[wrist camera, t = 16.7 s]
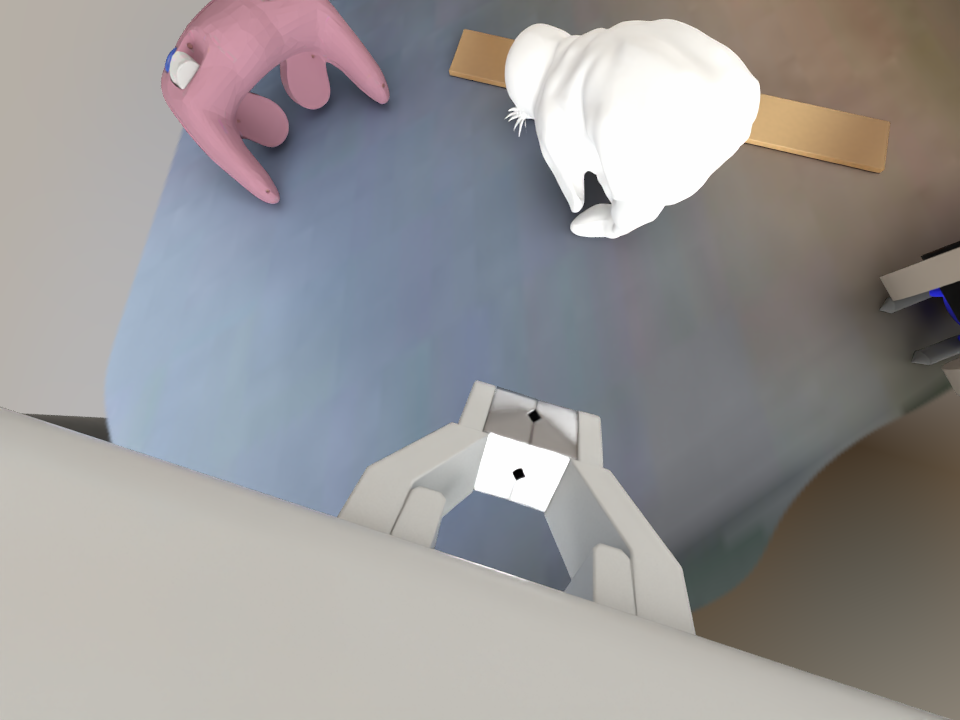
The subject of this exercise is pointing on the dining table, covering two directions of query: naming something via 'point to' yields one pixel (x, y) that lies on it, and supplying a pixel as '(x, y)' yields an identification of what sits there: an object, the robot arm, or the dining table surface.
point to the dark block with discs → (940, 274)
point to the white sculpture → (630, 113)
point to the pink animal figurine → (259, 76)
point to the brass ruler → (772, 128)
